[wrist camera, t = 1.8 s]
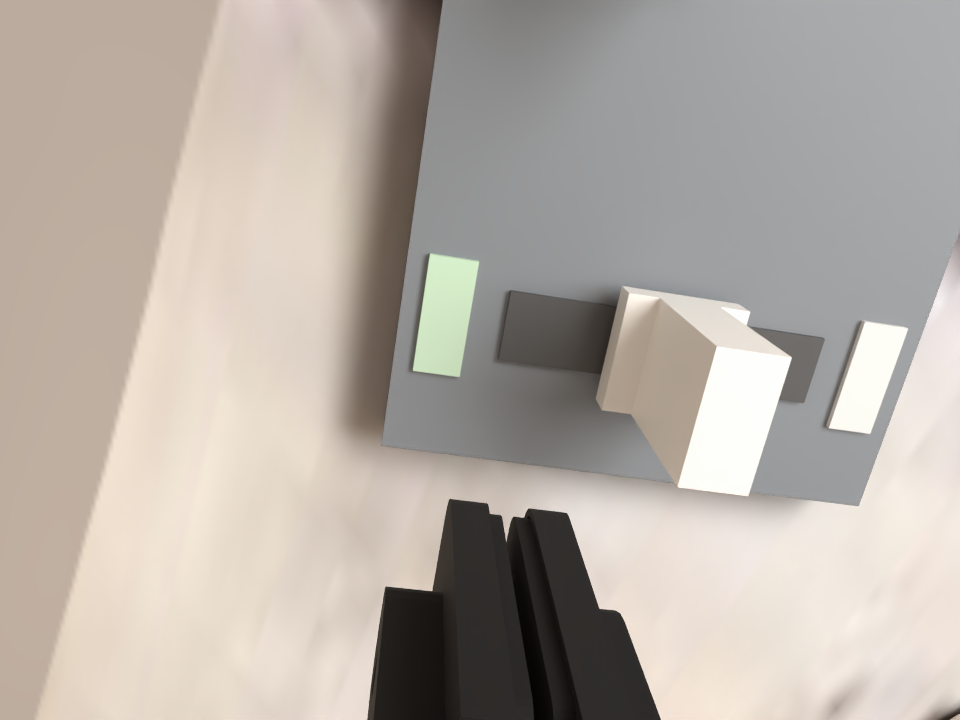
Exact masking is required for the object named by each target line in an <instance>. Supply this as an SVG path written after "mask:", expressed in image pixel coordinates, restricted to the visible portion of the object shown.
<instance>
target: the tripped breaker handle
mask: <svg viewBox="0 0 960 720" xmlns="http://www.w3.org/2000/svg"><path fill="white" fill-rule="evenodd" d="M749 315H750V311H748V310H747V309H745V308H744V307H742V306H741V305H739V304H736V303H729V302H723V301H716V300H710V299H703V298H697V297H690V296H684V295H677V294H671V293H665V292H658V291H652V290H645V289H639V288H632V287H626V286H622V287H621V292H620V296H619V300H618V304H617V309H616V313H615V317H614V322H613V326H612V330H611V335H610V339H609V343H608V348H607V352H606V356H605V360H604V365H603V369H602V373H601V378H600V382H599V386H598V391H597V395H596V401H597V402H598V404H599V406H600V408H601V410H604V411H611V412H618V413H626V414H631V415H632V417H633V418H634V420H635V421H636V423H637V424H638V426H639V428H640V429H641V431H642V432H643V434H644V435H645V437H646V439H647V440H648V442H649V443H650V445H651V446H652V448H653V450H654V451H655V453H656V454H657V456H658V457H659V459H660V461H661V462H662V464H663V465H664V467H665V468H666V470H667V472H668V473H669V475H670V476H671V478H672V479H673V481H674V483H675V484H676V486H677V487H679V488H687V489H695V490H703V491H711V492H719V493H727V494H735V495H742V496H748V495H749V492H750V489H751V486H752V483H753V479H754V476H755V473H756V470H757V467H758V464H759V460H760V457H761V454H762V451H763V448H764V445H765V441H766V438H767V435H768V432H769V429H770V425H771V422H772V419H773V416H774V413H775V410H776V406H777V403H778V400H779V397H780V394H781V391H782V387H783V384H784V381H785V378H786V375H787V371H788V368H789V365H790V362H791V359H792V357H790V356H789V355H788V354H786V353H785V352H783V351H782V350H781V349H779V348H778V347H776V346H775V345H773V344H772V343H771V342H769V341H768V340H766V339H765V338H763V337H762V336H761V335H759V334H758V333H756V332H755V331H754V330H752V329H751V328H749V327H748V326H746V325H747V322H748V318H749Z"/></svg>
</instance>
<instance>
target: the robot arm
mask: <svg viewBox="0 0 960 720" xmlns="http://www.w3.org/2000/svg"><path fill="white" fill-rule="evenodd" d="M367 720H661V719H660V716H659V714H658V711H657V708H656V705H655V703H654V700H653V697H652V695H651V692H650V689H649V687H648V684H647V681H646V679H645V676H644V673H643V670H642V668H641V665H640V662H639V660H638V657H637V654H636V652H635V649H634V646H633V643H632V641H631V638H630V635H629V633H628V630H627V627H626V625H625V622H624V620H623V618H622V616H621V614H620V613H619V612H617V611H614V610H604V609H599V607H598V604H597V601H596V598H595V595H594V591H593V588H592V585H591V582H590V579H589V576H588V573H587V570H586V567H585V564H584V561H583V558H582V555H581V552H580V549H579V546H578V543H577V540H576V537H575V534H574V531H573V528H572V525H571V522H570V519H569V516H568V514H567V513H563V512H554V511H546V510H537V509H528V510H527V512H526V514H525V517H524V518H519V517H513V518H512V521H511V524H510V528H509V533H508V537H507V542H506V539H505V533H504V527H503V521H502V516H501V515H494V514H490V513H489V507H488V504H487V503H478V502H470V501H461V500H453V499H450V500H449V502H448V506H447V511H446V516H445V522H444V527H443V533H442V539H441V545H440V550H439V556H438V562H437V568H436V573H435V579H434V585H433V591H422V590H413V589H403V588H394V587H385V592H384V598H383V604H382V611H381V617H380V624H379V631H378V638H377V645H376V652H375V659H374V667H373V675H372V683H371V691H370V700H369V710H368V719H367ZM950 720H960V714H958V715H956V716H954V717H953V718H951V719H950Z"/></svg>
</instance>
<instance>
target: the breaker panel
mask: <svg viewBox="0 0 960 720" xmlns="http://www.w3.org/2000/svg"><path fill="white" fill-rule="evenodd" d="M959 232H960V0H443V4H442V11H441V18H440V25H439V32H438V40H437V47H436V54H435V61H434V69H433V76H432V83H431V90H430V97H429V105H428V112H427V119H426V126H425V134H424V141H423V148H422V155H421V162H420V170H419V177H418V184H417V191H416V199H415V206H414V213H413V220H412V227H411V235H410V242H409V249H408V256H407V264H406V271H405V278H404V285H403V292H402V300H401V307H400V314H399V321H398V329H397V336H396V343H395V350H394V357H393V365H392V372H391V379H390V386H389V394H388V401H387V408H386V415H385V422H384V430H383V437H382V444H381V446H387V447H395V448H403V449H411V450H419V451H427V452H434V453H442V454H450V455H458V456H466V457H474V458H482V459H490V460H498V461H505V462H513V463H521V464H529V465H537V466H545V467H553V468H561V469H569V470H577V471H584V472H592V473H600V474H608V475H616V476H624V477H632V478H640V479H648V480H655V481H663V482H671V483H674V481H673V479H672V478H671V476H670V475H669V473H668V472H667V470H666V468H665V467H664V465H663V464H662V462H661V461H660V459H659V457H658V456H657V454H656V453H655V451H654V450H653V448H652V446H651V445H650V443H649V442H648V440H647V439H646V437H645V435H644V434H643V432H642V431H641V429H640V428H639V426H638V424H637V423H636V421H635V420H634V418H633V417H632V415H631V414H626V413H618V412H611V411H604V410H601V408H600V406H599V404H598V402H597V401H596V395H597V391H598V386H599V382H600V378H601V373H602V369H603V365H604V360H605V356H606V352H607V348H608V343H609V339H610V335H611V330H612V326H613V322H614V317H615V313H616V309H617V304H618V300H619V296H620V292H621V287H622V286H626V287H632V288H639V289H645V290H652V291H658V292H665V293H671V294H677V295H684V296H690V297H697V298H703V299H710V300H716V301H723V302H729V303H736V304H739V305H741V306H742V307H744V308H745V309H747V310H748V311H750V315H749V318H748V322H747V325H746V326H748V327H749V328H751V329H752V330H754V331H755V332H756V333H758V334H759V335H761V336H762V337H763V338H765V339H766V340H768V341H769V342H771V343H772V344H773V345H775V346H776V347H778V348H779V349H781V350H782V351H783V352H785V353H786V354H788V355H789V356H790V357H792V359H791V362H790V365H789V368H788V371H787V375H786V378H785V381H784V384H783V387H782V391H781V394H780V397H779V400H778V403H777V406H776V410H775V413H774V416H773V419H772V422H771V425H770V429H769V432H768V435H767V438H766V441H765V445H764V448H763V451H762V454H761V457H760V460H759V464H758V467H757V470H756V473H755V476H754V479H753V483H752V486H751V489H750V493H758V494H766V495H774V496H782V497H790V498H798V499H805V500H813V501H821V502H829V503H837V504H845V505H853V506H859V503H860V501H861V498H862V495H863V493H864V490H865V487H866V484H867V482H868V479H869V476H870V474H871V471H872V468H873V465H874V463H875V460H876V457H877V455H878V452H879V449H880V446H881V444H882V441H883V438H884V436H885V433H886V430H887V427H888V425H889V422H890V419H891V417H892V414H893V411H894V408H895V406H896V403H897V400H898V398H899V395H900V392H901V390H902V387H903V384H904V381H905V379H906V376H907V373H908V371H909V368H910V365H911V362H912V360H913V357H914V354H915V352H916V349H917V346H918V343H919V341H920V338H921V335H922V333H923V330H924V327H925V324H926V322H927V319H928V316H929V314H930V311H931V308H932V305H933V303H934V300H935V297H936V295H937V292H938V289H939V286H940V284H941V281H942V278H943V276H944V273H945V270H946V267H947V265H948V262H949V259H950V257H951V254H952V251H953V248H954V246H955V243H956V240H957V238H958V235H959Z"/></svg>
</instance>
